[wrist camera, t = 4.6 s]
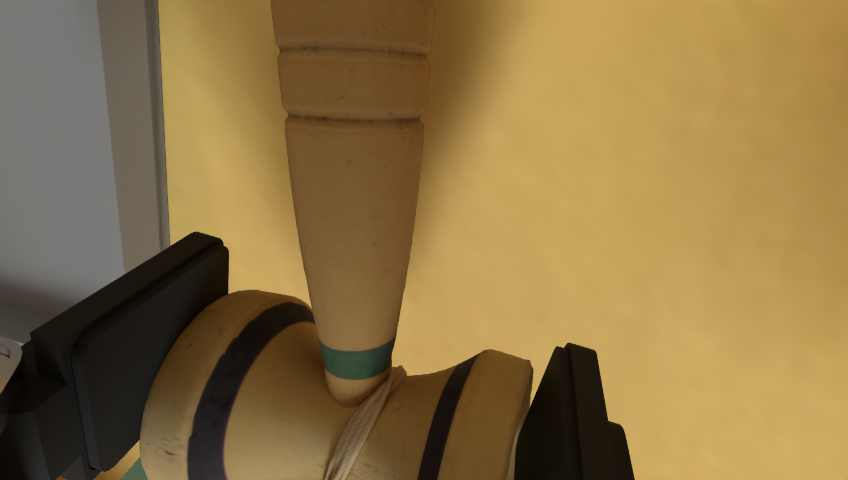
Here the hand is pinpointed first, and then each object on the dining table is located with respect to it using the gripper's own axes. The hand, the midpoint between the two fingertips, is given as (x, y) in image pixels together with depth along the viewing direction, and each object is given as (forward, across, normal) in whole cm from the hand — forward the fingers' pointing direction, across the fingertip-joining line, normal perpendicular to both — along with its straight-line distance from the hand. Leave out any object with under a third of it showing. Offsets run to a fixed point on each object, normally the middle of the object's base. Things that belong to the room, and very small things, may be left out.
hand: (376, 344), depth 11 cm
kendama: (+2, 0, 0) cm, 2 cm away
